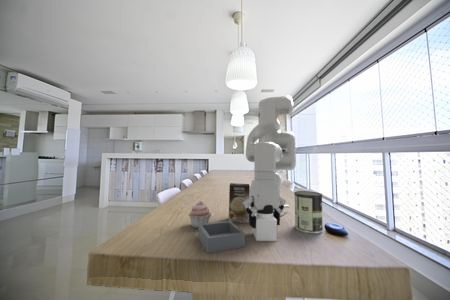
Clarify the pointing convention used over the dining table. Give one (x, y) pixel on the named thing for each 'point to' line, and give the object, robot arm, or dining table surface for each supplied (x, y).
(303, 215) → the coffee can
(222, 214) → the dining table surface
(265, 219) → the medicine bottle
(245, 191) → the coffee box
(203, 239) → the end holder
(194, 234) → the dining table surface
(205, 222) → the cupcake
